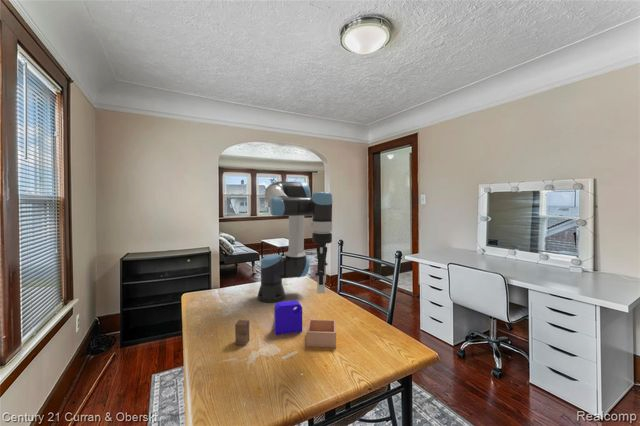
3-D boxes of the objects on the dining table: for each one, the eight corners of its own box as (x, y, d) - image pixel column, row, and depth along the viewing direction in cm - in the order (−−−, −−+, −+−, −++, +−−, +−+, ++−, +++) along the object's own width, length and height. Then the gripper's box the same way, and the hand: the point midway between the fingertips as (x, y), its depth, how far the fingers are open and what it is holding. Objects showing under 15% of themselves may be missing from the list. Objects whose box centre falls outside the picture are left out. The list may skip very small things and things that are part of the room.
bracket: (302, 331, 112) (302, 303, 111) (275, 335, 108) (275, 306, 108) (293, 314, 129) (293, 290, 128) (270, 317, 126) (270, 292, 125)
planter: (308, 332, 111) (308, 319, 110) (335, 333, 110) (335, 319, 110) (306, 346, 100) (306, 332, 100) (335, 347, 99) (336, 333, 99)
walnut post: (239, 339, 105) (239, 319, 104) (249, 340, 104) (249, 319, 104) (235, 345, 101) (235, 324, 100) (245, 345, 100) (245, 324, 100)
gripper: (314, 229, 116) (314, 277, 117) (309, 236, 91) (309, 298, 92) (332, 229, 116) (331, 278, 116) (331, 236, 91) (331, 298, 91)
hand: (321, 287), depth 104 cm, fingers open, 13 cm apart
